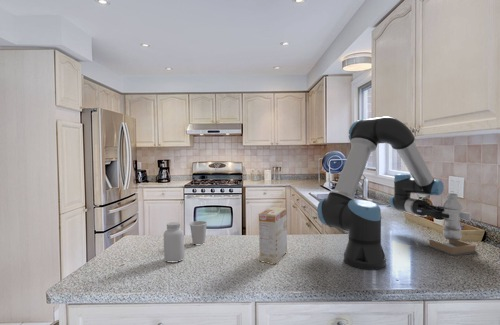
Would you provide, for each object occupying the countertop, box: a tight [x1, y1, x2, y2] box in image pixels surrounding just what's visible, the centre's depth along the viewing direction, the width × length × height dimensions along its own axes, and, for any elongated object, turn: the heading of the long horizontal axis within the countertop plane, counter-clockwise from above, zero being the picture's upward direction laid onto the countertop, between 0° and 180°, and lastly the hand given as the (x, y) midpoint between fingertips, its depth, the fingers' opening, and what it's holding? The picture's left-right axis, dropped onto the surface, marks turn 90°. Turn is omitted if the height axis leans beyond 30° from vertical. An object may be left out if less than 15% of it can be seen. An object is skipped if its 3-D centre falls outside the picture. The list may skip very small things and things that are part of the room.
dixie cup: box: [189, 220, 208, 245], centre depth 134 cm, size 8×8×10 cm
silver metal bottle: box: [442, 192, 463, 241], centre depth 119 cm, size 6×7×20 cm
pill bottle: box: [163, 221, 185, 262], centre depth 113 cm, size 8×8×15 cm
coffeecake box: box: [258, 206, 288, 265], centre depth 114 cm, size 15×7×20 cm, turn 154°
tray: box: [428, 239, 478, 257], centre depth 119 cm, size 12×12×3 cm
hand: (463, 217), depth 114 cm, fingers closed on silver metal bottle, 6 cm apart
